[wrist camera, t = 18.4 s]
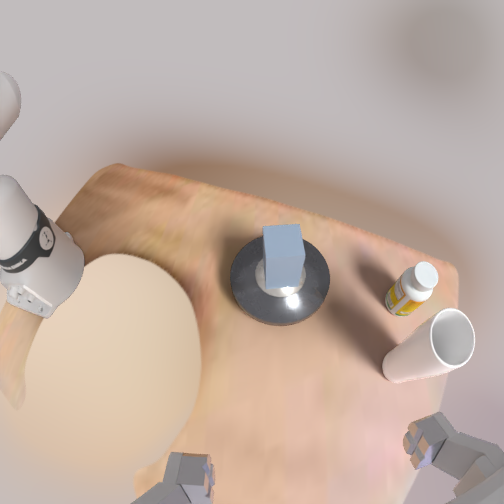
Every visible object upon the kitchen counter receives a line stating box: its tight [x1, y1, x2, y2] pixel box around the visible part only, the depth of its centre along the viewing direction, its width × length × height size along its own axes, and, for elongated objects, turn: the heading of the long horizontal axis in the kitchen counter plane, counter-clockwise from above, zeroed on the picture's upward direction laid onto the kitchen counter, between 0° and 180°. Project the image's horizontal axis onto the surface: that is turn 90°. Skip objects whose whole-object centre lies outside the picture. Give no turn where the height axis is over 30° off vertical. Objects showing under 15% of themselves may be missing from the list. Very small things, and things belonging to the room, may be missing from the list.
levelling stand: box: [230, 236, 330, 326], centre depth 41 cm, size 14×14×5 cm
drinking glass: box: [382, 308, 475, 383], centre depth 28 cm, size 7×7×15 cm
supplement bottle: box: [385, 262, 438, 317], centre depth 36 cm, size 5×5×10 cm
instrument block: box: [263, 224, 305, 289], centre depth 36 cm, size 4×4×8 cm
